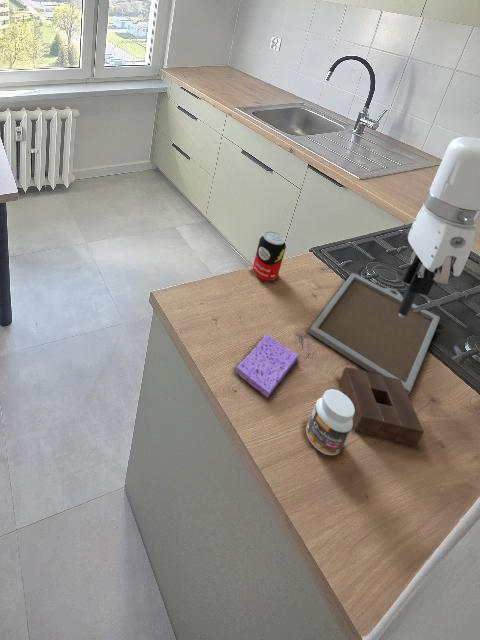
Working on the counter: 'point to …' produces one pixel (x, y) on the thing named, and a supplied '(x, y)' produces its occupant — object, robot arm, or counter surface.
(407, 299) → the peg
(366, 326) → the grey-rimmed serving tray
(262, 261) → the beverage can
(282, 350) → the sponge
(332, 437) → the pill bottle
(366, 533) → the counter surface
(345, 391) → the dock
